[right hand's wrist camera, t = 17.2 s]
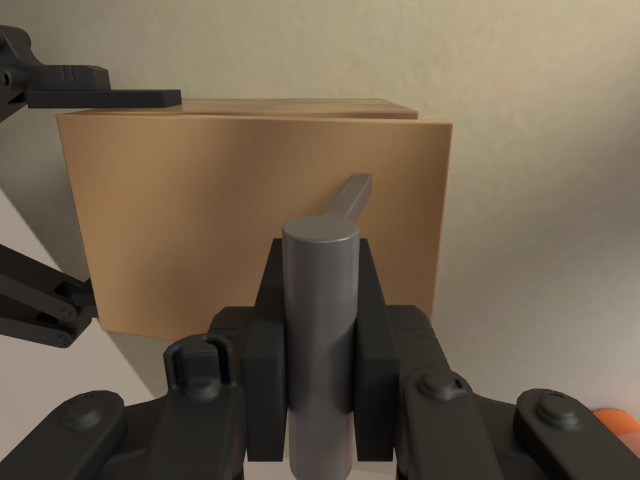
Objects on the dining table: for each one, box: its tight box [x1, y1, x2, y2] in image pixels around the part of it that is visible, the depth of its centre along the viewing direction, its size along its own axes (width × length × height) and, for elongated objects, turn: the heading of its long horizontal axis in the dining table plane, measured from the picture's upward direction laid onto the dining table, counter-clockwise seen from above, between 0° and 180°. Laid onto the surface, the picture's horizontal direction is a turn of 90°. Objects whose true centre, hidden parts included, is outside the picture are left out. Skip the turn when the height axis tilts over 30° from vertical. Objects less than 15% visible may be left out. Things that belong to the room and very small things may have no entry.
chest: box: [74, 99, 418, 120], centre depth 25 cm, size 15×10×11 cm
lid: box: [56, 112, 453, 480], centre depth 14 cm, size 15×10×8 cm, turn 90°
